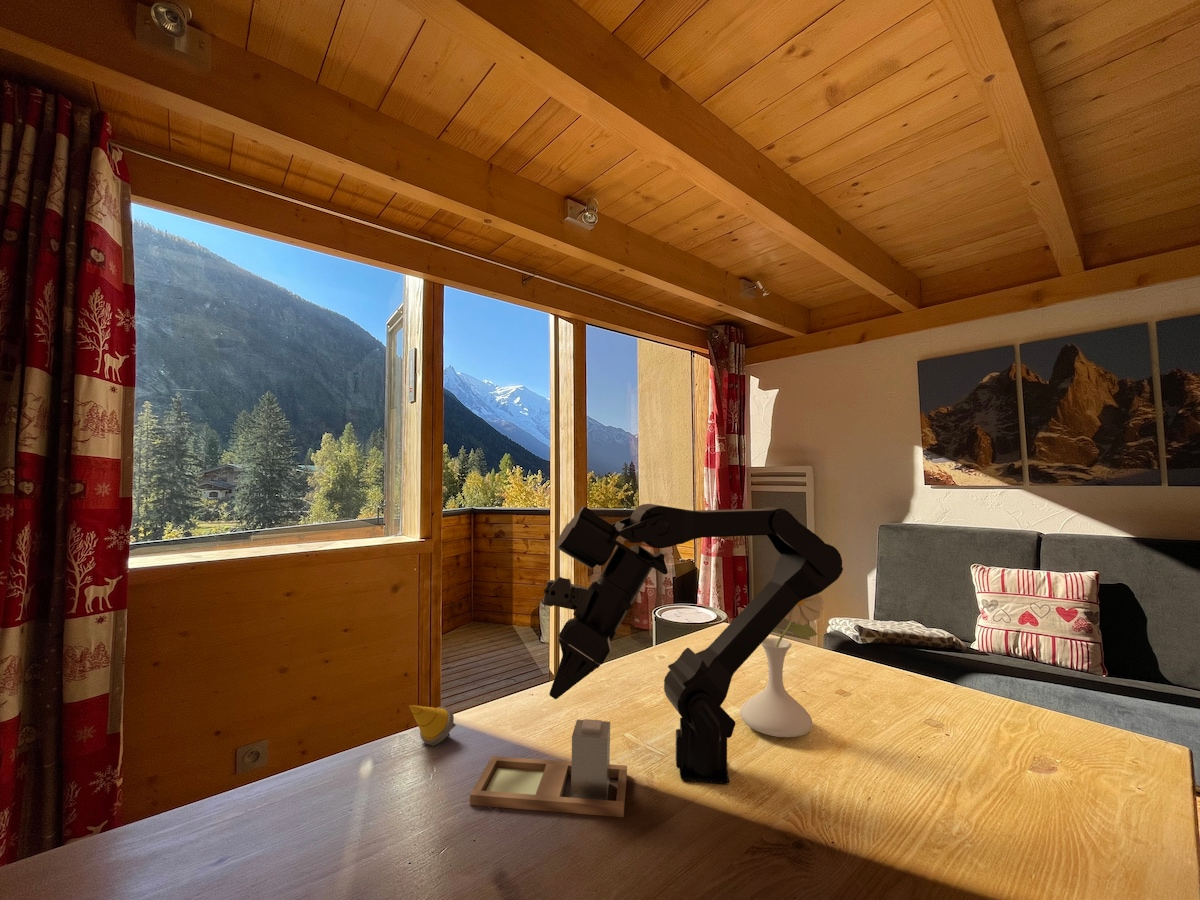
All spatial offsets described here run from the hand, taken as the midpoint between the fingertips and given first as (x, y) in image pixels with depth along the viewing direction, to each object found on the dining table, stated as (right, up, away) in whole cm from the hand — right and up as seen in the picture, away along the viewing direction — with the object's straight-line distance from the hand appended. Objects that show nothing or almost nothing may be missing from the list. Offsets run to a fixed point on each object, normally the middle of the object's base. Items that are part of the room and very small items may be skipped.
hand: (557, 688), depth 70 cm
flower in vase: (+35, -14, +16) cm, 41 cm away
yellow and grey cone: (-20, -13, +9) cm, 25 cm away
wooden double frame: (-1, -12, -2) cm, 12 cm away
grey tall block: (+4, -12, -2) cm, 13 cm away
